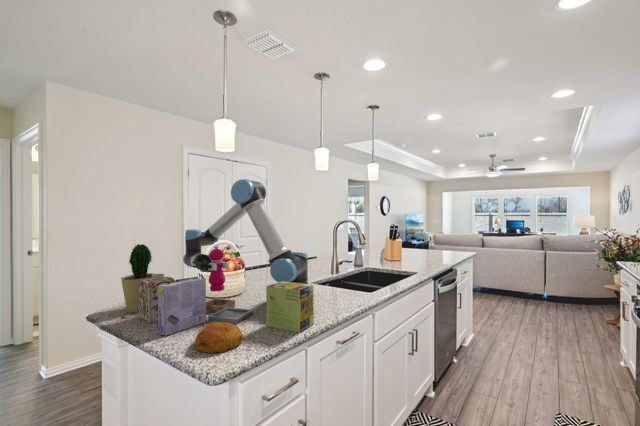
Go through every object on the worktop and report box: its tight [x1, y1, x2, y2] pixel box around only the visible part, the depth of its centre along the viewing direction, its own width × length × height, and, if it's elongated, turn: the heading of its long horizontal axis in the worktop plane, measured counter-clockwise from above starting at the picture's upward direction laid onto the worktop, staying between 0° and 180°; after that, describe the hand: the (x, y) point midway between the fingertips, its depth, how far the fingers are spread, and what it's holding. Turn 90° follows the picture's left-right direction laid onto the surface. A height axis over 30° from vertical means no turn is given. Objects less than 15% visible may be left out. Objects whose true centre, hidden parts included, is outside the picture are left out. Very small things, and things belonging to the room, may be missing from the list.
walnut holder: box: [206, 297, 236, 314], centre depth 149 cm, size 11×11×3 cm
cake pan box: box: [157, 277, 207, 337], centre depth 125 cm, size 19×5×18 cm, turn 149°
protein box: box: [265, 282, 315, 334], centre depth 127 cm, size 10×15×16 cm
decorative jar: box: [138, 273, 176, 324], centre depth 138 cm, size 12×12×18 cm
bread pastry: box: [193, 322, 244, 354], centre depth 109 cm, size 14×16×8 cm
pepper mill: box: [208, 245, 226, 292], centre depth 149 cm, size 7×7×20 cm
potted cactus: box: [120, 243, 154, 313], centre depth 150 cm, size 15×15×30 cm
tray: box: [207, 307, 254, 325], centre depth 136 cm, size 13×13×2 cm
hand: (221, 266), depth 145 cm, fingers closed on pepper mill, 5 cm apart
